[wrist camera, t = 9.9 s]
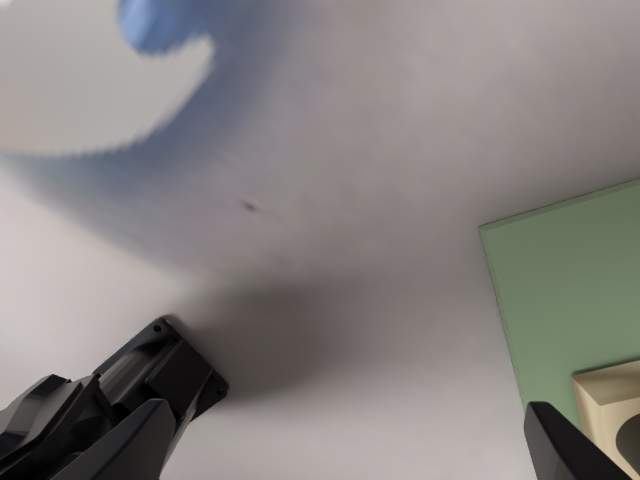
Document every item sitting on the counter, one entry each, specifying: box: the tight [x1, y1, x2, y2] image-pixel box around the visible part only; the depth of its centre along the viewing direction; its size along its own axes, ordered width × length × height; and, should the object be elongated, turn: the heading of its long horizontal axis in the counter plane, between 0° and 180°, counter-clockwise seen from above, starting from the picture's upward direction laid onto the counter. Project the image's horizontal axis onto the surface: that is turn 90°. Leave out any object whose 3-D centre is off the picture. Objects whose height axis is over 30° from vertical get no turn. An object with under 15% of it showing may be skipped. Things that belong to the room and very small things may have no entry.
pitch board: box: [479, 178, 640, 433], centre depth 21 cm, size 9×22×1 cm, turn 19°
